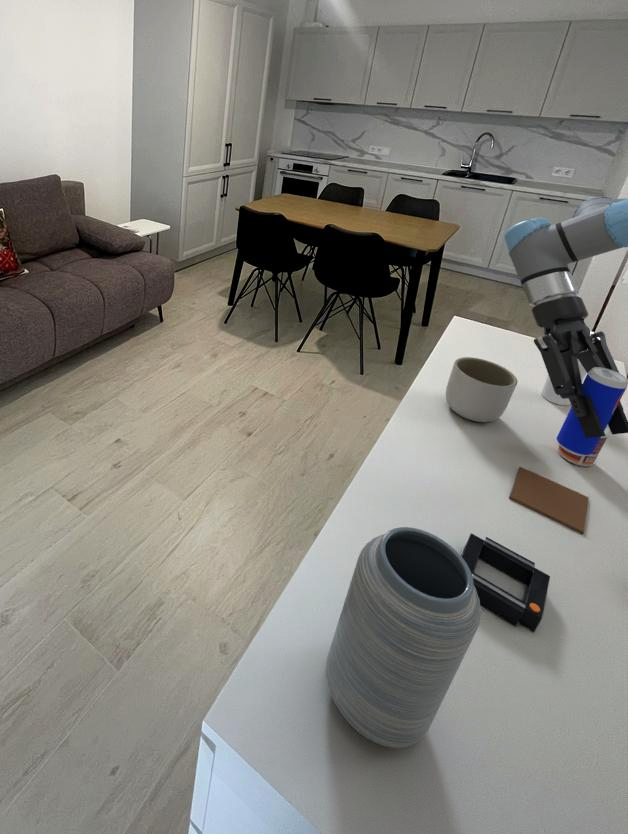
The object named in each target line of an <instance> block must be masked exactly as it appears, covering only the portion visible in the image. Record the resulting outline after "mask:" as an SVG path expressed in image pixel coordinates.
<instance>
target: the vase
mask: <svg viewBox="0 0 628 834" xmlns="http://www.w3.org/2000/svg"><path fill="white" fill-rule="evenodd" d="M481 616H482V609H481V605H480V600H479V597H478V594H477V591H476V588H475V586H474V583H473V577H472V574H471V571H470V569H469V567H468V565H467V564H466V562H465V561H464V559H463V558H462V557H461V554H460V553H459V552H458V551H457V550H456V549H455V548H453V547H452V545H450V544H449V543H448V542H446V541H445V540H443V539H442V538H440V537H438V536H437V535H435V534H433V533H431V532H428V531H426V530H423V529H420V528H415V527H408V526H400V527H395V528H392V529H390V530H388V531H387V532H385V533H383V534H380V535H378V536H376V537H373V538H372V539H370V540H369V541H368V542H367V543H366V544H365V545H364V547H363V548H362V549H361V550H360V552H359V555H358V558H357V561H356V565H355V567H354V570H353V574H352V576H351V579H350V583H349V586H348V589H347V593H346V596H345V599H344V602H343V606H342V608H341V612H340V615H339V618H338V621H337V625H336V629H335V631H334V634H333V638H332V641H331V644H330V647H329V650H328V653H327V657H326V664H325V676H326V681H327V686H328V689H329V692H330V695H331V698H332V700H333V702H334V704H335V706H336V707H337V709H338V711H339V712H340V714H341V715H342V717H343V718H344V719H345V720H346V722H347V723H348V724H349V725H350V726H351V727H352V728H353V729H354V730H356V732H357V733H358V734H359V735H361V736H363V737H364V738H365V739H367V740H369V741H371V742H373V743H375V744H377V745H380V746H383V747H386V748H394V749H402V748H407V747H411V746H414V745H416V744H417V743H418V742H420V741H421V740H423V738H424V737H425V736H426V734H427V733H428V732H429V730H430V728H431V726H432V724H433V721H434V720H435V718H436V715H437V713H438V711H439V709H440V708H441V705H442V703H443V701H444V699H445V697H446V695H447V693H448V690H449V689H450V686H451V685H452V682H453V680H454V679H455V676H456V674H457V672H458V670H459V668H460V667H461V664H462V662H463V660H464V658H465V655H466V654H467V652H468V650H469V648H470V646H471V644H472V641H473V640H474V638H475V635H476V634H477V631H478V628H479V627H480V625H481Z"/></svg>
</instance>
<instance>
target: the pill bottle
mask: <svg viewBox="0 0 628 834" xmlns="http://www.w3.org/2000/svg"><path fill="white" fill-rule="evenodd" d="M604 433H605V435H606V436H602V437H601V438H600V440H599V442H598V443H597V445H596V447H595V449H594V451H593V453H592V454H591V455H588V456H578V455H575V454H572V453H570V452H568V451H566V450H564V449H563V448H562V447H561V446H560V445H559V444H558V447H557V452H558V454H559V456H561V457H562V458H563V459H565V460H566V461H568V462H569V463H572V464H573V465H576V466H580V467H585V468H586V467H592V466H593V465H594V464H595V462H596V460H597V458H598V456H599V454H600V453H601V451H602V449H603V447H604V445H605V443H606V441H607V440H608V437H609V435H610V428H609V426H608V424H607V426H606V428H605V430H604Z"/></svg>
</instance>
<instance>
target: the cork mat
mask: <svg viewBox="0 0 628 834" xmlns="http://www.w3.org/2000/svg"><path fill="white" fill-rule="evenodd" d="M589 498H590V497H589V496H587V495H585V494H582V493H580V492H578V491H576V490H573V489H571V488H570V487H567V486H564V485H563V484H560V483H558V482H556V481H553V480H551V479H549V478H547V477H544V476H543V475H540V474H537V473H536V472H534V471H531V470H529V469H526V468H524V467H522V466H519V468H518V470H517V474H516V477H515V479H514V482H513V485H512V489H511V491H510V494H509V497H508V499H510V500H512V501H513V502H516V503H518V504H520V505H522V506H523V507H526V508H528V509H530V510H533V511H534V512H537V513H538V514H540V515H542V516H544V517H547V518H549V519H550V520H552V521H555V522H557V523H558V524H561V525H563V526H565V527H567V528H569V529H570V530H571V529H572V530H573V531H575V532H578V533H579V534H581V535H583V534H584V533H585V526H586V519H587V511H588V505H589Z"/></svg>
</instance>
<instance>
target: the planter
mask: <svg viewBox="0 0 628 834" xmlns="http://www.w3.org/2000/svg"><path fill="white" fill-rule="evenodd" d="M517 386H518V378H517V377H516V375H515V374H514V373H513V372H511V371H510V370H508V369H507V368H506V367H504V366H502V365H500V364H498V363H495V362H493V361H489V360H486V359H483V358H478V357H472V356H471V357H470V356H465V357H464V356H463V357H459V358H457V359H455V361H454V363H453V365H452V368H451V371H450V375H449V378H448V380H447V384H446V389H445V399H446V402H447V404H448V406H449V408H450V409H451V410H452V411H453V412H454V413H455V414H457V415H459V416H460V417H462V418H464V419H466V420H469V421H472V422H477V423H491V422H494V421H496V420H498V419H499V418H501V416H502V415H503V414H504V413H505V411H506V409H507V407H508V405H509V404H510V401H511V399H512V396H513V393H514V391H515V389H516V387H517Z"/></svg>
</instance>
